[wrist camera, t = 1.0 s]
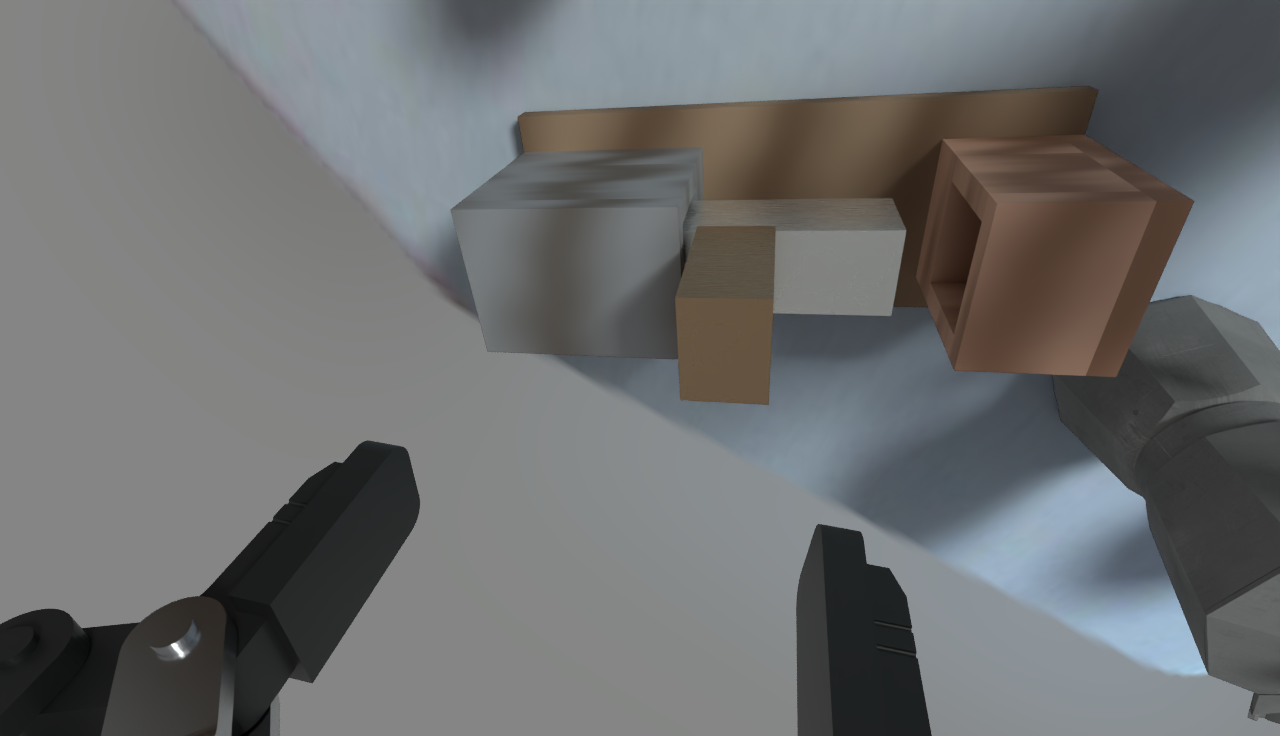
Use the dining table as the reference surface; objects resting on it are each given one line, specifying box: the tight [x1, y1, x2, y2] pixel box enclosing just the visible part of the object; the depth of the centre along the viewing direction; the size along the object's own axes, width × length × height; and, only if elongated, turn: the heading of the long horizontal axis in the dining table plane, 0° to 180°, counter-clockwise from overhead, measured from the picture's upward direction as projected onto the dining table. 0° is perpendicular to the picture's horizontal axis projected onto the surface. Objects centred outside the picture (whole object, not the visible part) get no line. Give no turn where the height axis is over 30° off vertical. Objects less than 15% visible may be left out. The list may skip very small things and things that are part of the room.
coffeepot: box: [1052, 295, 1280, 724], centre depth 23 cm, size 15×9×18 cm, turn 4°
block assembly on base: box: [451, 86, 1194, 377], centre depth 27 cm, size 25×10×9 cm, turn 95°
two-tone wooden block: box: [675, 198, 906, 405], centre depth 24 cm, size 17×4×10 cm, turn 95°
